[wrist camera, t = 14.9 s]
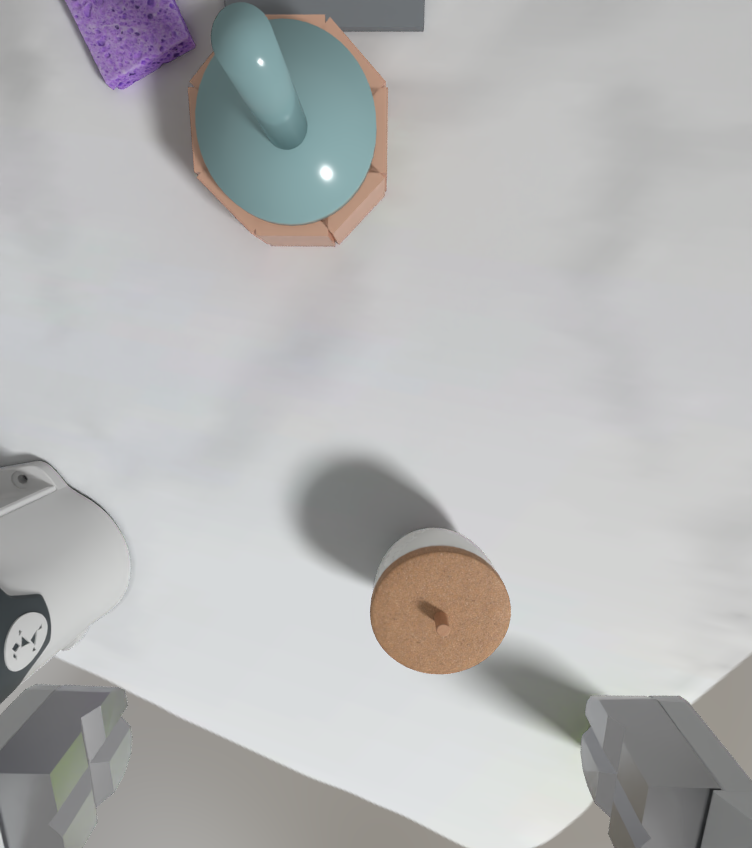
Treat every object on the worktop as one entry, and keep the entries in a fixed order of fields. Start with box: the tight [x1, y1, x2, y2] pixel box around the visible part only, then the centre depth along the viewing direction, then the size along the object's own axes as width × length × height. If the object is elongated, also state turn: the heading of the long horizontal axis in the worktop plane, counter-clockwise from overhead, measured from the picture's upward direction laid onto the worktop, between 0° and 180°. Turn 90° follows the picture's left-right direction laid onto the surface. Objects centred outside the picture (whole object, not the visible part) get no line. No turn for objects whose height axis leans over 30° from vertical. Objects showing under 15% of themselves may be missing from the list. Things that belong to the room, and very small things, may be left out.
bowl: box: [188, 14, 388, 246], centre depth 32 cm, size 13×13×4 cm
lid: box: [195, 2, 377, 226], centre depth 25 cm, size 12×12×10 cm
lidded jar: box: [370, 528, 511, 674], centre depth 37 cm, size 11×11×9 cm
